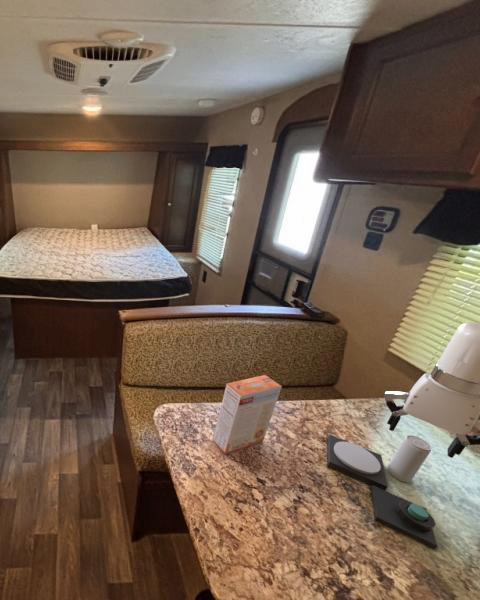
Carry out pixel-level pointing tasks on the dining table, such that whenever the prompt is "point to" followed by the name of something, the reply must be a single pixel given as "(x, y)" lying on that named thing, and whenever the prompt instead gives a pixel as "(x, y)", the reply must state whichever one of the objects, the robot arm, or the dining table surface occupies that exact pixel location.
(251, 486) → the dining table surface
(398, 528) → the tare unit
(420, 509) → the button
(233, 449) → the cracker box
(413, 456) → the beverage can
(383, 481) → the scale
